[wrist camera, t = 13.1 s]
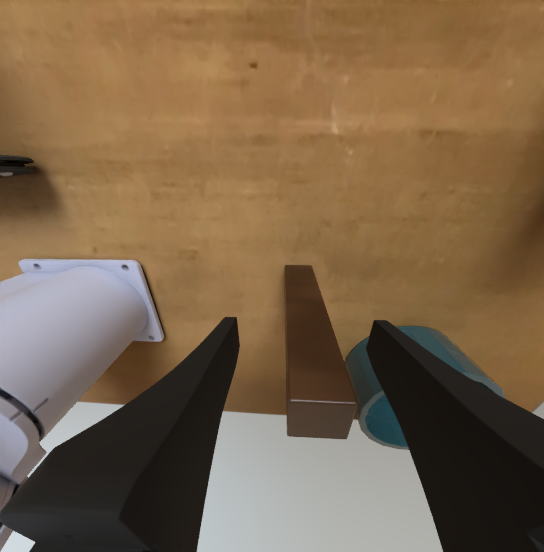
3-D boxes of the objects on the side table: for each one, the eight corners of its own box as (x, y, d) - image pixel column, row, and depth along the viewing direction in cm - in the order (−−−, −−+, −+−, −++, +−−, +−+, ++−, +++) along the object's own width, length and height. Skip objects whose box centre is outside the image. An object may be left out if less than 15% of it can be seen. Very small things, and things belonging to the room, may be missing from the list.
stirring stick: (284, 288, 15) (287, 437, 7) (284, 264, 15) (288, 401, 6) (309, 288, 15) (347, 440, 6) (311, 265, 14) (359, 404, 6)
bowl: (336, 396, 21) (349, 446, 17) (353, 323, 17) (375, 369, 13) (431, 399, 21) (467, 453, 17) (475, 326, 16) (538, 375, 12)
